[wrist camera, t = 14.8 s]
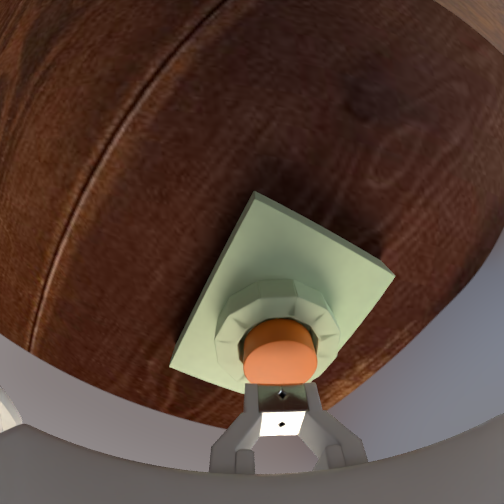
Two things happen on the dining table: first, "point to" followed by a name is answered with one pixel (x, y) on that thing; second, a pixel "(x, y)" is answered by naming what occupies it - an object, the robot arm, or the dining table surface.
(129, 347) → the dining table surface
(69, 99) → the dining table surface
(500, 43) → the tissue box cover
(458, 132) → the dining table surface
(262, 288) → the button block
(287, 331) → the button
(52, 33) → the dining table surface
